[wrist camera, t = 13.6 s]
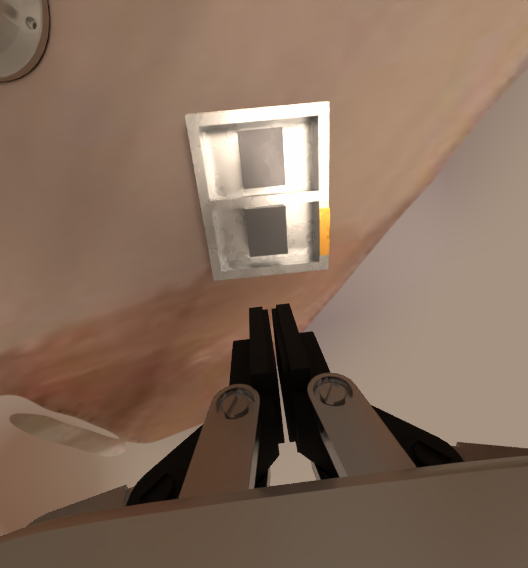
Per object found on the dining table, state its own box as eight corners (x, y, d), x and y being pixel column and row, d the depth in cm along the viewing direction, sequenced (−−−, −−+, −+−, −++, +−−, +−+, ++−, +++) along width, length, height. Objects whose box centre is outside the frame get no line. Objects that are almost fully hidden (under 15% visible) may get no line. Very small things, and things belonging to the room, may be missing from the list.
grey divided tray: (193, 123, 27) (181, 110, 22) (320, 111, 27) (336, 96, 22) (217, 269, 33) (212, 285, 28) (321, 258, 33) (333, 272, 28)
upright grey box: (245, 205, 29) (244, 209, 25) (280, 202, 30) (285, 205, 25) (249, 246, 31) (249, 257, 27) (282, 243, 31) (287, 253, 27)
